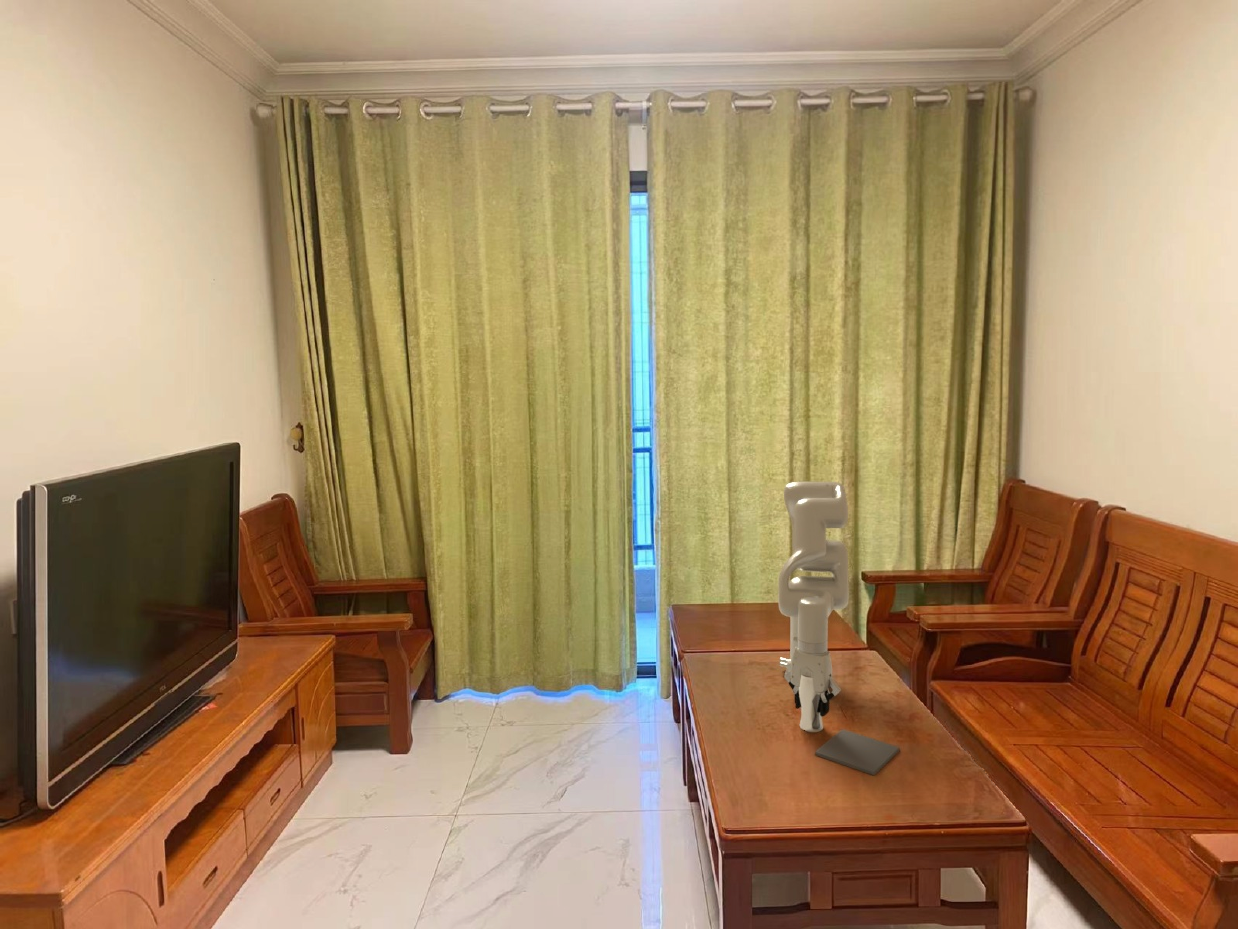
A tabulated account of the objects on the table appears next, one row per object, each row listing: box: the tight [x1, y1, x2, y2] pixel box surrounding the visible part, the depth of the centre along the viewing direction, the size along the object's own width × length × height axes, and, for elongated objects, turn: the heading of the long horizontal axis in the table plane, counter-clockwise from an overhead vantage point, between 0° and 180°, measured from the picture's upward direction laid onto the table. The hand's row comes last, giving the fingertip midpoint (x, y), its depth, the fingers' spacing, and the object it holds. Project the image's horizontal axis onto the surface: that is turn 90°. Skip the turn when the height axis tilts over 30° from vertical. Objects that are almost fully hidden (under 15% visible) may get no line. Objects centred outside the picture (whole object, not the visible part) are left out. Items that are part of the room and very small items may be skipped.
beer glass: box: [798, 675, 824, 733], centre depth 204 cm, size 7×7×15 cm
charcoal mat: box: [814, 729, 900, 776], centre depth 191 cm, size 15×15×1 cm
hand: (811, 710), depth 204 cm, fingers closed on beer glass, 6 cm apart
